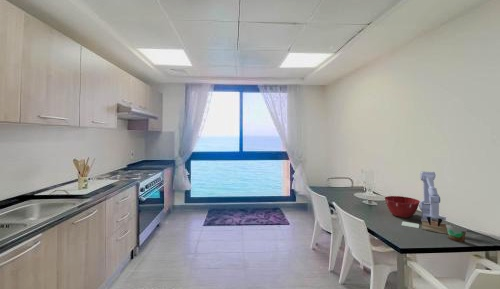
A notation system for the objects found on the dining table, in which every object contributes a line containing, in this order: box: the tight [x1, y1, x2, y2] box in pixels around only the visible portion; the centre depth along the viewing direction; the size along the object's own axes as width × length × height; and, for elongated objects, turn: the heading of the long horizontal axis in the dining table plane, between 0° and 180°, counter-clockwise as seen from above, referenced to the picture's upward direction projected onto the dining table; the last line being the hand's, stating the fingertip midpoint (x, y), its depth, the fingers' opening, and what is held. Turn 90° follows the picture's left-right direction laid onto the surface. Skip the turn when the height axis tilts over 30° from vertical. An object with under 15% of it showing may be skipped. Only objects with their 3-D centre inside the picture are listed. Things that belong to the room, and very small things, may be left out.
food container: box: [446, 222, 468, 243], centre depth 176 cm, size 12×6×10 cm, turn 21°
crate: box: [421, 220, 451, 235], centre depth 197 cm, size 13×18×4 cm
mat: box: [400, 221, 420, 229], centre depth 207 cm, size 12×12×1 cm
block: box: [431, 220, 438, 227], centre depth 198 cm, size 4×4×6 cm
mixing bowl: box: [384, 195, 421, 219], centre depth 234 cm, size 28×28×16 cm
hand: (434, 227), depth 198 cm, fingers closed on block, 4 cm apart
